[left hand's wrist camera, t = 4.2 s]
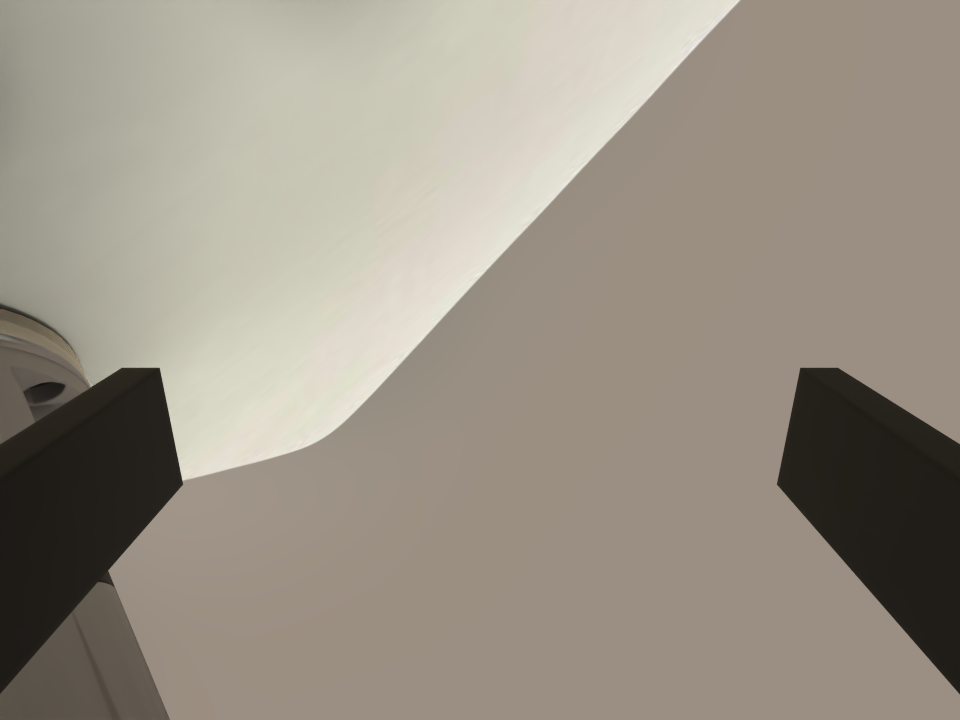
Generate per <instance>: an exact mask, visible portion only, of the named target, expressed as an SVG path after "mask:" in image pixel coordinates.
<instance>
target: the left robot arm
mask: <svg viewBox="0 0 960 720" xmlns="http://www.w3.org/2000/svg"><path fill="white" fill-rule="evenodd" d="M182 485H183V482H182V477H181V472H180V467H179V462H178V457H177V452H176V447H175V442H174V437H173V432H172V427H171V422H170V417H169V412H168V407H167V402H166V397H165V392H164V388H163V383H162V378H161V373H160V368H121V369H120V370H118V371H116V372H115V373H113V374H112V375H110V376H108V377H107V378H105V379H104V380H102V381H100V382H99V383H97V384H96V385H94V386H92V387H91V388H90V385H89V383H88V381H87V379H86V376H85V374H84V372H83V370H82V367H81V365H80V363H79V361H78V359H77V357H76V354H75V353H74V351H73V350H72V349H71V347H70V346H69V345H68V344H67V343H66V342H65V341H64V340H63V339H62V338H61V337H60V336H59V335H57V334H56V333H54V332H53V331H51V330H50V329H49V328H47V327H45V326H43V325H41V324H39V323H37V322H36V321H34V320H31V319H29V318H26V317H24V316H21V315H19V314H16V313H13V312H10V311H7V310H4V309H1V308H0V720H170V719H169V716H168V714H167V712H166V709H165V707H164V704H163V702H162V700H161V697H160V695H159V692H158V690H157V688H156V685H155V683H154V680H153V678H152V675H151V673H150V671H149V668H148V666H147V663H146V661H145V659H144V656H143V654H142V651H141V649H140V647H139V644H138V642H137V639H136V637H135V635H134V632H133V630H132V627H131V625H130V623H129V620H128V618H127V615H126V613H125V611H124V608H123V606H122V603H121V601H120V598H119V596H118V593H117V591H116V589H115V587H114V584H113V582H112V579H111V577H110V574H109V572H108V570H109V569H110V568H111V566H112V565H113V564H114V563H115V562H116V561H117V560H118V558H119V557H120V556H121V555H122V554H123V553H124V552H125V550H126V549H127V548H128V547H129V546H130V545H131V544H132V542H133V541H134V540H135V539H136V538H137V537H138V535H139V534H140V533H141V532H142V531H143V530H144V529H145V527H146V526H147V525H148V524H149V523H150V522H151V521H152V519H153V518H154V517H155V516H156V515H157V514H158V513H159V511H160V510H161V509H162V508H163V507H164V506H165V505H166V503H167V502H168V501H169V500H170V499H171V498H172V496H173V495H174V494H175V493H176V492H177V491H178V490H179V488H180V487H181V486H182ZM777 485H778V486H779V487H780V488H781V490H782V491H783V492H784V493H785V494H786V495H787V496H788V498H789V499H790V500H791V501H792V502H793V503H794V504H795V506H796V507H797V508H798V509H799V510H800V511H801V513H802V514H803V515H804V516H805V517H806V518H807V519H808V521H809V522H810V523H811V524H812V525H813V526H814V527H815V529H816V530H817V531H818V532H819V533H820V534H821V535H822V537H823V538H824V539H825V540H826V541H827V542H828V544H829V545H830V546H831V547H832V548H833V549H834V550H835V552H836V553H837V554H838V555H839V556H840V557H841V558H842V559H843V561H844V562H845V563H846V564H847V565H848V566H849V568H850V569H851V570H852V571H853V572H854V573H855V574H856V576H857V577H858V578H859V579H860V580H861V581H862V583H863V584H864V585H865V586H866V587H867V588H868V589H869V591H870V592H871V593H872V594H873V595H874V596H875V597H876V598H877V600H878V601H879V602H880V603H881V604H882V605H883V607H884V608H885V609H886V610H887V611H888V612H889V613H890V615H891V616H892V617H893V618H894V619H895V620H896V622H897V623H898V624H899V625H900V626H901V627H902V628H903V630H904V631H905V632H906V633H907V634H908V635H909V636H910V638H911V639H912V640H913V641H914V642H915V643H916V644H917V646H918V647H919V648H920V649H921V650H922V651H923V652H924V654H925V655H926V656H927V657H928V658H929V659H930V660H931V662H932V663H933V664H934V665H935V666H936V667H937V669H938V670H939V671H940V672H941V673H942V674H943V675H944V677H945V678H946V679H947V680H948V681H949V682H950V683H951V685H952V686H953V687H954V688H955V689H956V690H957V691H958V693H959V694H960V444H959V443H957V442H955V441H954V440H952V439H950V438H949V437H947V436H946V435H944V434H943V433H941V432H939V431H938V430H936V429H934V428H933V427H931V426H930V425H928V424H927V423H925V422H923V421H922V420H920V419H919V418H917V417H915V416H914V415H912V414H911V413H909V412H907V411H906V410H904V409H903V408H901V407H899V406H898V405H896V404H895V403H893V402H891V401H890V400H888V399H887V398H885V397H883V396H882V395H880V394H879V393H877V392H875V391H874V390H872V389H871V388H869V387H868V386H866V385H864V384H863V383H861V382H860V381H858V380H856V379H855V378H853V377H852V376H850V375H848V374H847V373H845V372H844V371H842V370H840V369H839V368H800V373H799V378H798V383H797V388H796V392H795V398H794V402H793V407H792V412H791V418H790V422H789V428H788V432H787V437H786V442H785V447H784V452H783V457H782V462H781V467H780V472H779V477H778V482H777Z"/></svg>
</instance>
